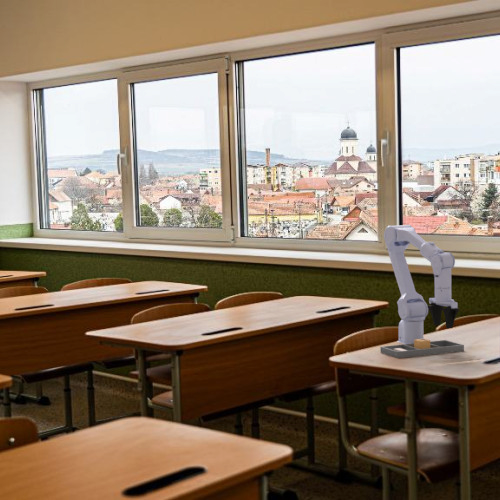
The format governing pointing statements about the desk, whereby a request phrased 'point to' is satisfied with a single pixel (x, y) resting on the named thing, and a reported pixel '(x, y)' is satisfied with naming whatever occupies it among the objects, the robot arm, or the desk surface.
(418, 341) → the letter cube
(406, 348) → the organizer
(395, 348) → the eraser
